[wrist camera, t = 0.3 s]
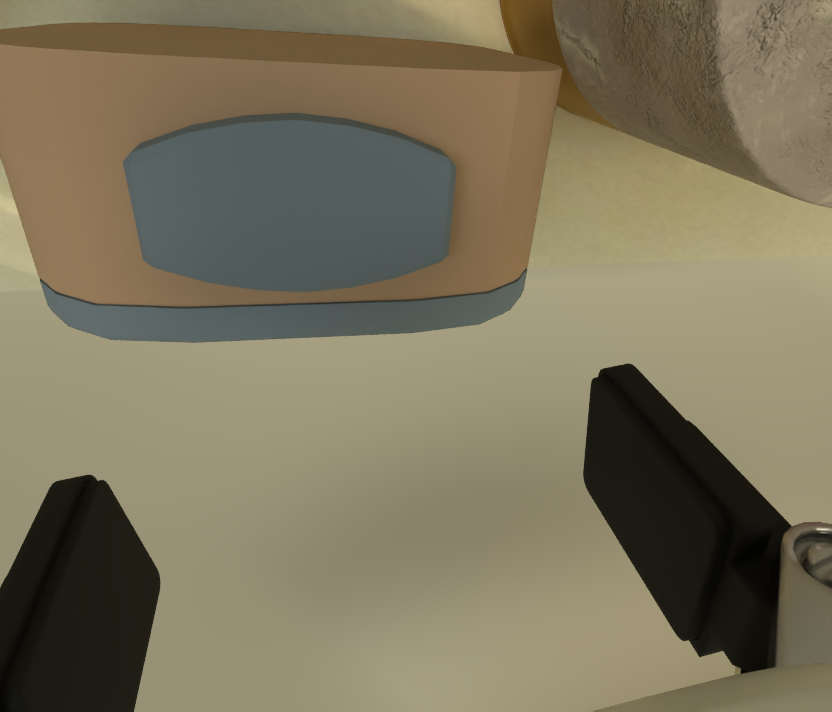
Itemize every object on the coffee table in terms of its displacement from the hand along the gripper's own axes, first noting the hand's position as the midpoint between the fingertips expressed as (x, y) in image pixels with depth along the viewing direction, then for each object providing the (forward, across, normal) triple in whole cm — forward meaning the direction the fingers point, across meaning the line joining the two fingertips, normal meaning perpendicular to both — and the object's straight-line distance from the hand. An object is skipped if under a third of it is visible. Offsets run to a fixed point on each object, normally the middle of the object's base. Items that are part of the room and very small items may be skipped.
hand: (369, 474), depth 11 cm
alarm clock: (+31, +1, -2) cm, 31 cm away
